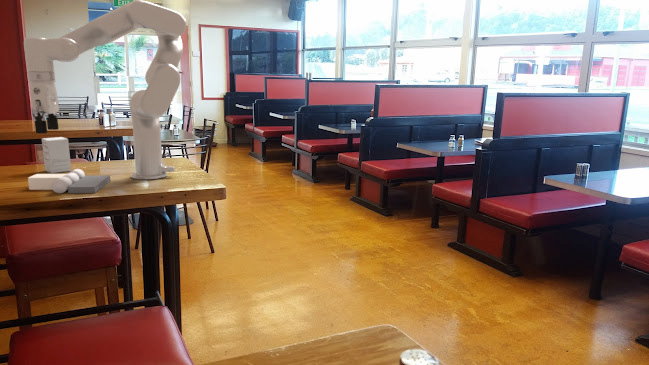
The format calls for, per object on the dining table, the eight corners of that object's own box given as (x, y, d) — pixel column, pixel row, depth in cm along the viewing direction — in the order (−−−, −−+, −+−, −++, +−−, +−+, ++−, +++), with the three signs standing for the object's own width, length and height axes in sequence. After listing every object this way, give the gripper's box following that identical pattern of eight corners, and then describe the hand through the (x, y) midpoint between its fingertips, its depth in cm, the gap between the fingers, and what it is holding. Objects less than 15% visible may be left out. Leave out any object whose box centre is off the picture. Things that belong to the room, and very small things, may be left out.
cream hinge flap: (79, 185, 167) (78, 172, 167) (73, 189, 161) (71, 176, 160) (37, 185, 166) (36, 172, 165) (29, 189, 159) (27, 176, 159)
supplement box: (65, 168, 194) (62, 136, 191) (71, 171, 189) (68, 138, 186) (44, 170, 189) (41, 138, 186) (50, 173, 184) (47, 140, 181)
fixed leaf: (110, 180, 174) (109, 168, 173) (95, 192, 157) (94, 179, 156) (72, 181, 172) (70, 168, 172) (52, 193, 155) (50, 179, 154)
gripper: (43, 78, 149) (50, 134, 153) (63, 77, 165) (69, 128, 169) (16, 78, 148) (23, 135, 151) (39, 77, 164) (45, 128, 168)
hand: (47, 131), depth 160 cm, fingers open, 9 cm apart
